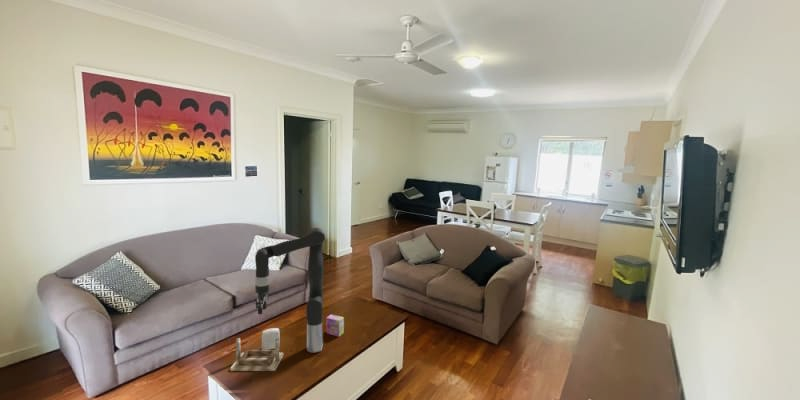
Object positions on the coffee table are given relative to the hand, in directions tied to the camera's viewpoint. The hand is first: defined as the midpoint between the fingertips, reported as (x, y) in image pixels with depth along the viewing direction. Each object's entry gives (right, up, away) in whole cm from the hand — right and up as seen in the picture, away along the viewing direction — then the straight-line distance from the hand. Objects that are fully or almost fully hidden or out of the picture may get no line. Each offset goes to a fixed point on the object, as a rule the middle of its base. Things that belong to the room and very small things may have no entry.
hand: (262, 311), depth 188 cm
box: (+36, -26, +31) cm, 54 cm away
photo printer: (0, -27, +12) cm, 30 cm away
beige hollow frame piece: (-1, -28, -3) cm, 28 cm away
